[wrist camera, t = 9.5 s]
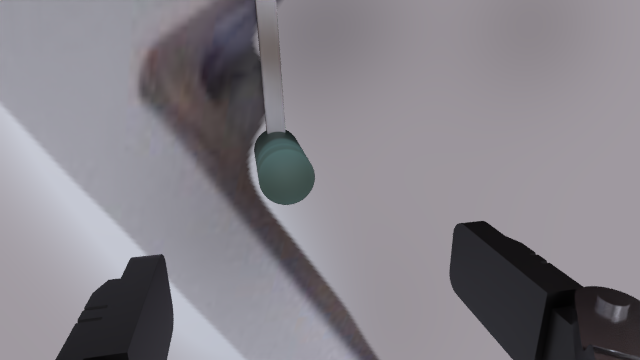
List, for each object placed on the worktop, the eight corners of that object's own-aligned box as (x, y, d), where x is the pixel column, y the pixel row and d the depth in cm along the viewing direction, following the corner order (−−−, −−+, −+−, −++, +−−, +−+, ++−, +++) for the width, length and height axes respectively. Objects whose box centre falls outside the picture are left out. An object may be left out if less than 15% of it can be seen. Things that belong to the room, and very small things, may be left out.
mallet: (193, -202, 18) (175, -295, 13) (303, -196, 19) (326, -283, 14) (235, 175, 24) (235, 210, 19) (319, 167, 25) (340, 198, 20)
